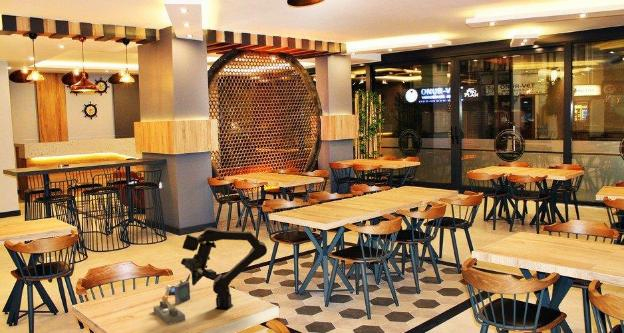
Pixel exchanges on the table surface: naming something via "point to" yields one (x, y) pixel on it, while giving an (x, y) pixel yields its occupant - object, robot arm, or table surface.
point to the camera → (172, 291)
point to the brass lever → (167, 303)
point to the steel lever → (167, 291)
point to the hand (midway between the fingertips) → (193, 285)
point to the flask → (182, 292)
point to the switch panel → (168, 313)
